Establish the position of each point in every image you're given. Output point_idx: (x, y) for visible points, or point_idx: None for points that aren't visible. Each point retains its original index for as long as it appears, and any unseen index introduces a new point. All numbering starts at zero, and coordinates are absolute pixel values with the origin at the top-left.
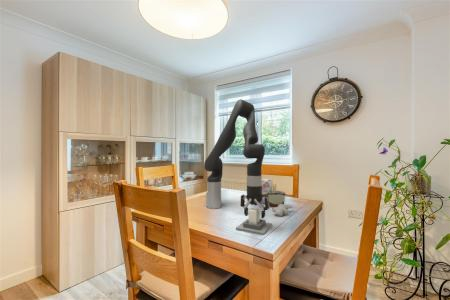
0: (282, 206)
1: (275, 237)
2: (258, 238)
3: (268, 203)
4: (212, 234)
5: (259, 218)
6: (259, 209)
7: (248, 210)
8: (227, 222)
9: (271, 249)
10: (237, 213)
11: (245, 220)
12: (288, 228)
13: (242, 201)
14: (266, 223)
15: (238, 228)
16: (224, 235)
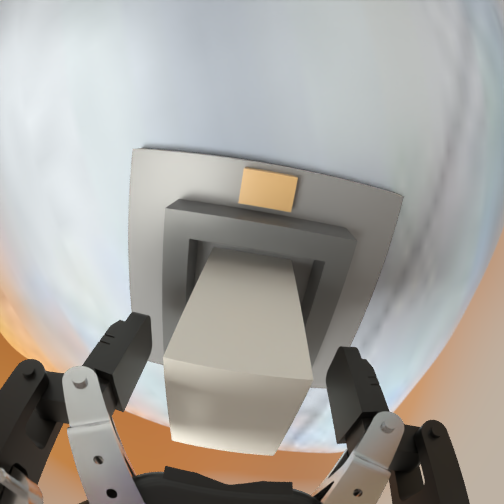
0: None
1: (388, 376)
2: (300, 408)
3: (454, 486)
4: None
5: (295, 297)
6: (309, 377)
7: (172, 439)
8: (41, 241)
9: None
10: (46, 27)
11: (130, 193)
12: (482, 229)
13: (42, 464)
14: (352, 214)
15: (156, 362)
16: (134, 403)
